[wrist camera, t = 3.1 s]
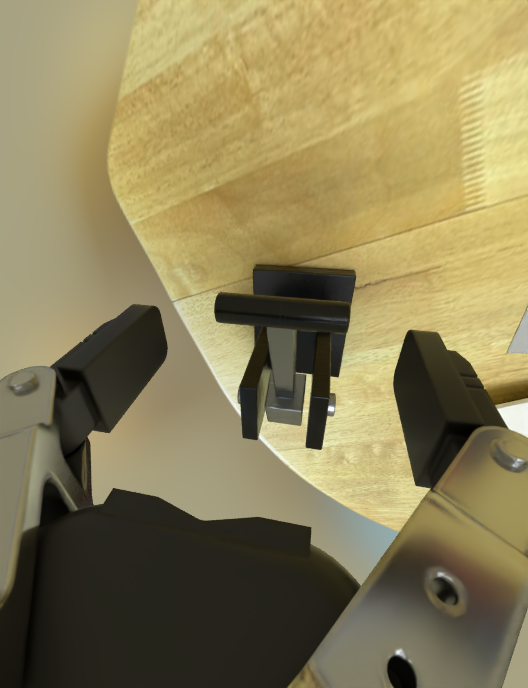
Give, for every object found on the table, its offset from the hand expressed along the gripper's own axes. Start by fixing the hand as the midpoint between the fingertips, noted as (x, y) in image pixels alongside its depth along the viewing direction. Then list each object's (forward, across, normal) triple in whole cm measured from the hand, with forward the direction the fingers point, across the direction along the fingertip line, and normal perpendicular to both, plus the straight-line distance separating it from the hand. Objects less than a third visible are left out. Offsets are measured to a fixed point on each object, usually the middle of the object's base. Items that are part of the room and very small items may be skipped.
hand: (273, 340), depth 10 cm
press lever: (+5, 0, +4) cm, 6 cm away
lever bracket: (+16, 0, +8) cm, 18 cm away
